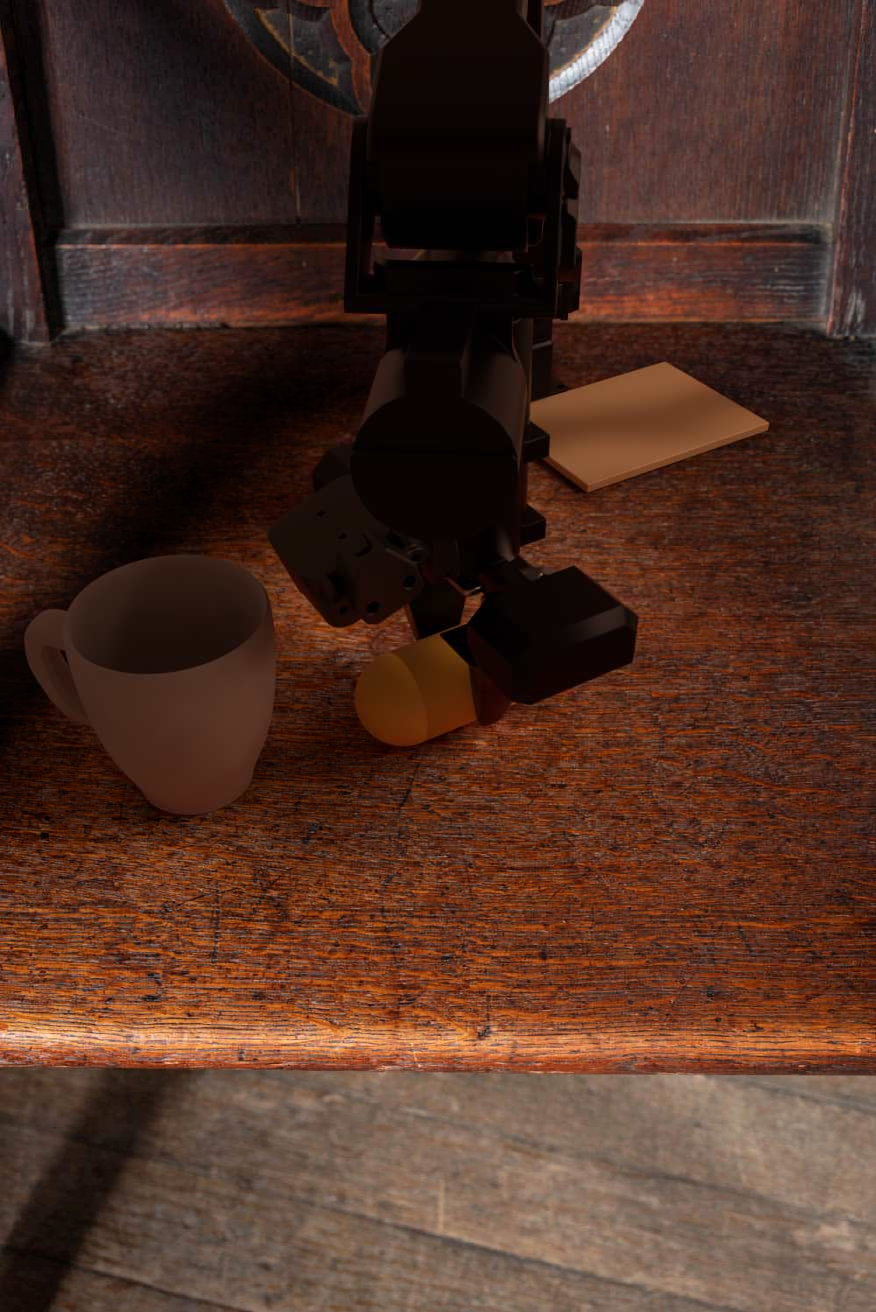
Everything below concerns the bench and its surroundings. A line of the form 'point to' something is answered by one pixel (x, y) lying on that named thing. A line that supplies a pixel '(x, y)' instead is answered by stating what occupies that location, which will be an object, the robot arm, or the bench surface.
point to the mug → (167, 674)
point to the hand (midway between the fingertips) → (462, 693)
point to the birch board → (637, 424)
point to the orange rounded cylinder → (415, 692)
